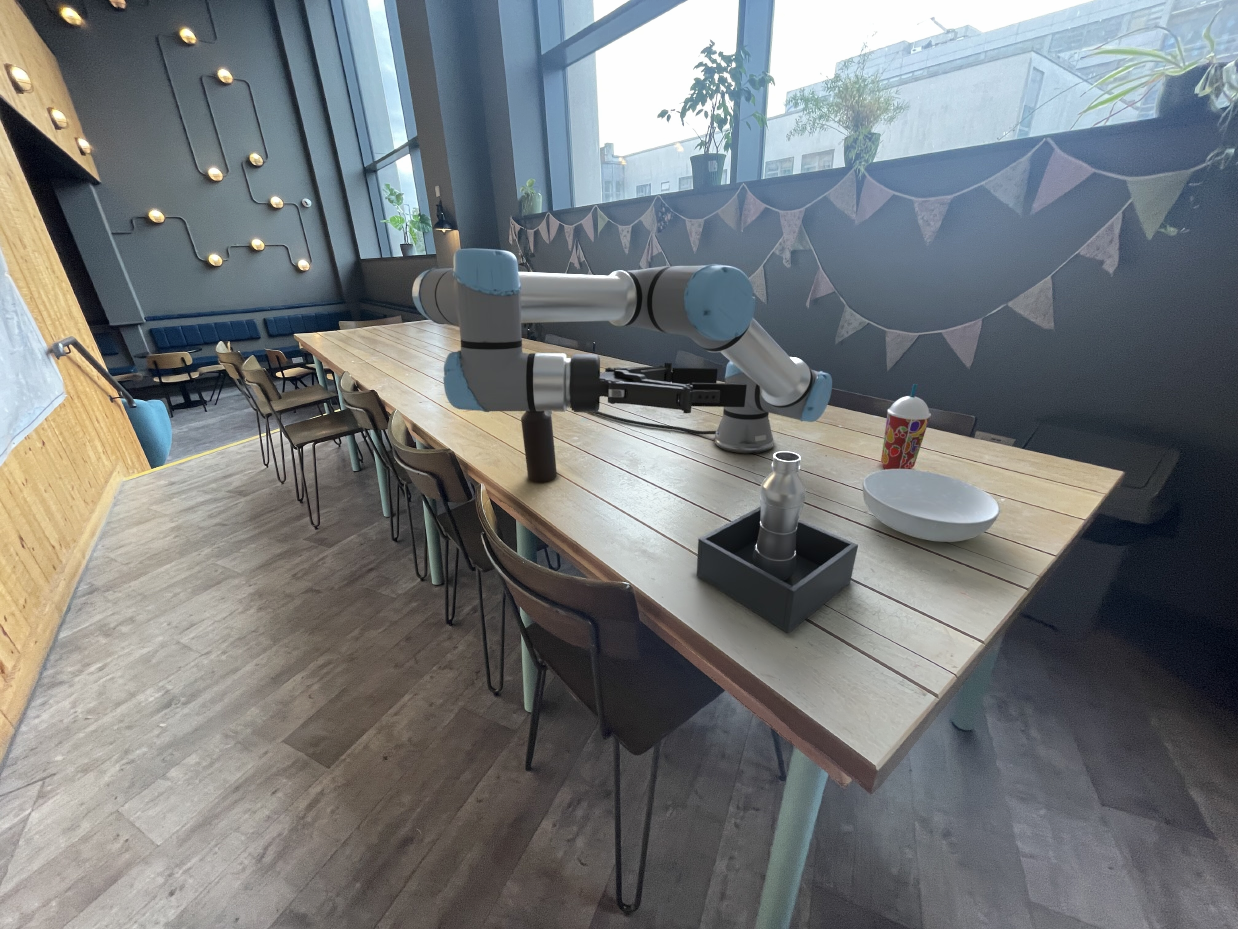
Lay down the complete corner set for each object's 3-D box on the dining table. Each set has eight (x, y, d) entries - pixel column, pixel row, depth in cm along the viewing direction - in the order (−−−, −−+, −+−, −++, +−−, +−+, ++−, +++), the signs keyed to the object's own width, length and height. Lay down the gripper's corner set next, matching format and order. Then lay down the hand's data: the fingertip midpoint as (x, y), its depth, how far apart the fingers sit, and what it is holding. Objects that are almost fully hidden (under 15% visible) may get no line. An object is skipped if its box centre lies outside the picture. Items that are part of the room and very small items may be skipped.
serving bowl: (936, 571, 74) (946, 534, 72) (832, 512, 92) (838, 481, 89) (1016, 539, 82) (1029, 504, 79) (906, 490, 99) (913, 461, 97)
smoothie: (922, 476, 105) (944, 389, 97) (882, 474, 107) (900, 388, 99) (909, 462, 113) (928, 380, 105) (871, 460, 114) (888, 379, 106)
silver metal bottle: (794, 565, 75) (811, 449, 67) (794, 591, 69) (812, 468, 61) (752, 558, 77) (764, 445, 69) (749, 583, 71) (761, 463, 63)
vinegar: (540, 485, 107) (531, 400, 99) (522, 478, 111) (512, 395, 103) (562, 476, 111) (555, 394, 103) (544, 468, 116) (536, 389, 108)
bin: (696, 575, 75) (698, 538, 72) (760, 538, 84) (763, 504, 82) (787, 633, 63) (794, 591, 60) (850, 583, 72) (858, 544, 69)
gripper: (573, 394, 74) (705, 396, 76) (564, 436, 51) (756, 438, 52) (573, 345, 72) (709, 348, 73) (564, 366, 48) (765, 370, 50)
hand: (729, 385), depth 63 cm, fingers open, 13 cm apart
